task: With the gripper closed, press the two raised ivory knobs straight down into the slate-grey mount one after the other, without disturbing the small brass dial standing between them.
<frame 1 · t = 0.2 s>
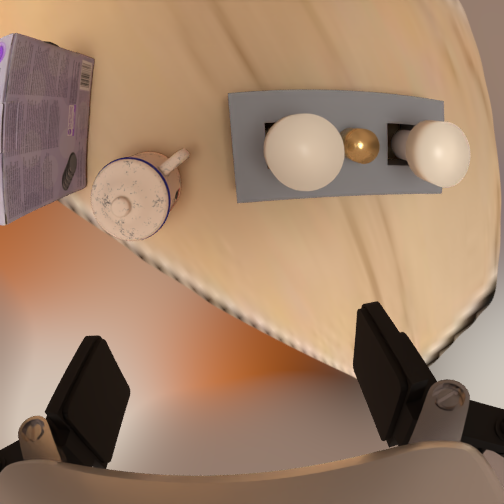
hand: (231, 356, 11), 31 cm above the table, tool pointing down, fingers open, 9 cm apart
brass dial: (351, 143, 32), point 6 cm above the table, touching mount
teacup with lid: (158, 176, 38), on the table
ivory knob 1: (423, 149, 28), point 10 cm above the table, slide at 0.0 cm
mount: (335, 139, 37), on the table
cake pan box: (75, 119, 34), on the table
ivory knob 2: (296, 147, 28), point 10 cm above the table, slide at 0.0 cm
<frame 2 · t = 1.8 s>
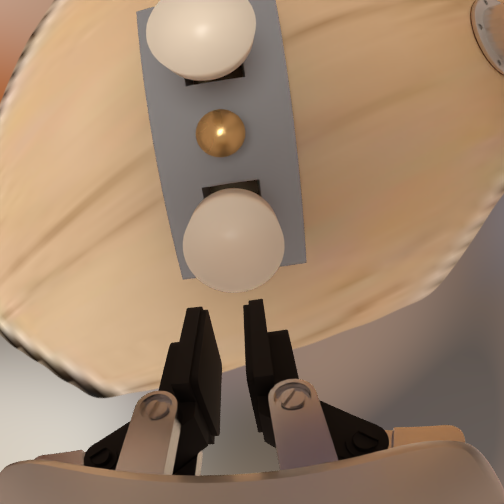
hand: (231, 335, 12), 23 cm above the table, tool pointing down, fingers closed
brass dial: (222, 131, 25), point 6 cm above the table, touching mount
ivory knob 1: (234, 225, 24), point 10 cm above the table, slide at 0.0 cm
mount: (225, 130, 30), on the table
ivory knob 2: (206, 42, 18), point 10 cm above the table, slide at 0.0 cm
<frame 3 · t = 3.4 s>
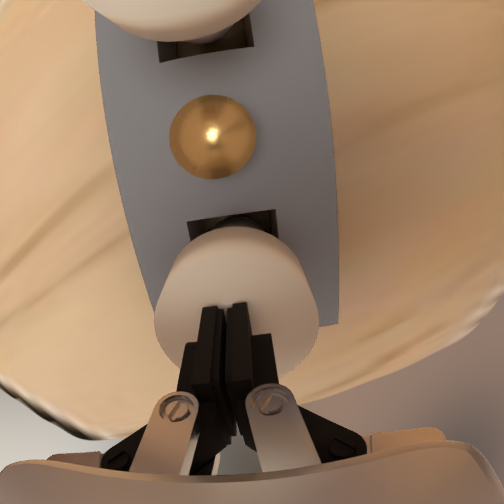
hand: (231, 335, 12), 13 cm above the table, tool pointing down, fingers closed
brass dial: (217, 133, 15), point 6 cm above the table, touching mount
ivory knob 1: (236, 276, 16), point 9 cm above the table, slide at 1.5 cm, touching gripper
mount: (223, 130, 21), on the table
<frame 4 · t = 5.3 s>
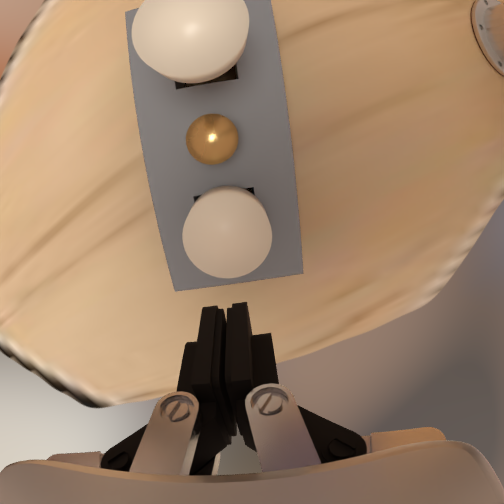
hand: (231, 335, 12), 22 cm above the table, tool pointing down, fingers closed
brass dial: (214, 137, 23), point 6 cm above the table, touching mount
ivory knob 1: (227, 219, 26), point 6 cm above the table, slide at 4.2 cm
mount: (218, 135, 29), on the table
ivory knob 2: (197, 42, 17), point 10 cm above the table, slide at 0.0 cm
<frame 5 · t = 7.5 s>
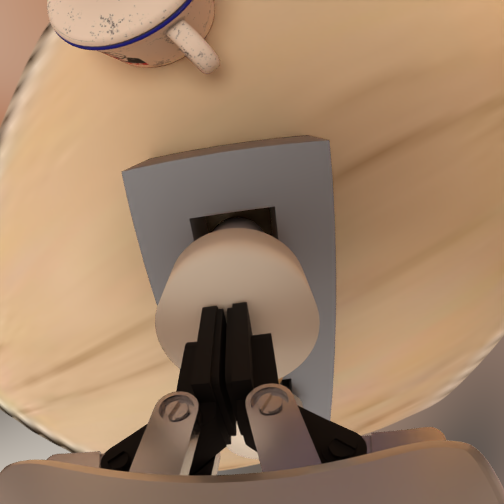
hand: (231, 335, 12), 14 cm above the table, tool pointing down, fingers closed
teacup with lid: (170, 29, 18), on the table
ivory knob 1: (263, 399, 25), point 6 cm above the table, slide at 4.2 cm
mount: (250, 297, 27), on the table
ivory knob 2: (237, 278, 16), point 9 cm above the table, slide at 0.7 cm, touching gripper
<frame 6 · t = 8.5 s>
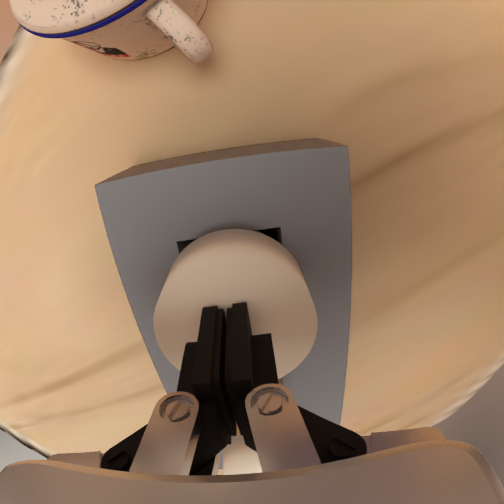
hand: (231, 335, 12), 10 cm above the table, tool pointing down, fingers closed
teacup with lid: (157, 16, 15), on the table
ivory knob 1: (264, 432, 21), point 6 cm above the table, slide at 4.2 cm
mount: (250, 321, 24), on the table
ivory knob 2: (235, 278, 16), point 6 cm above the table, slide at 4.2 cm, touching gripper
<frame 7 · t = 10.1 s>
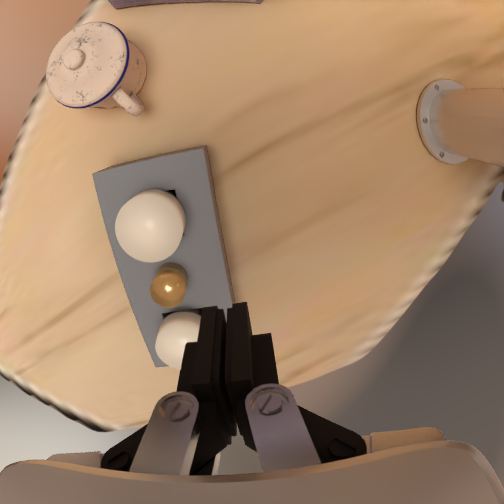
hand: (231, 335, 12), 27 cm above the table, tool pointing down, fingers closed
brass dial: (171, 277, 34), point 6 cm above the table, touching mount
teacup with lid: (121, 82, 31), on the table
ivory knob 1: (186, 326, 37), point 6 cm above the table, slide at 4.2 cm
mount: (178, 255, 39), on the table
ivory knob 2: (157, 216, 31), point 6 cm above the table, slide at 4.2 cm
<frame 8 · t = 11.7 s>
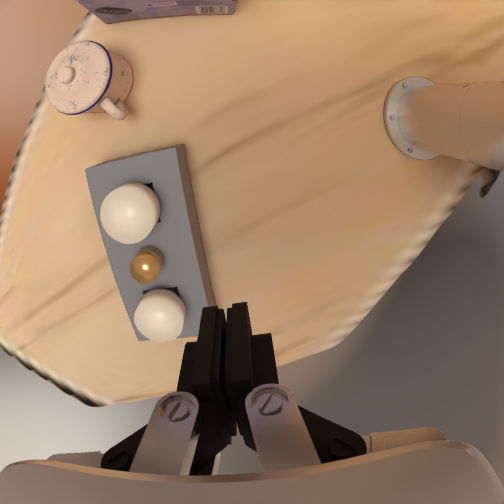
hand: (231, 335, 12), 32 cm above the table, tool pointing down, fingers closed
brass dial: (150, 258, 39), point 6 cm above the table, touching mount
teacup with lid: (111, 89, 35), on the table
ivory knob 1: (164, 303, 42), point 6 cm above the table, slide at 4.2 cm
mount: (160, 241, 44), on the table
cake pan box: (172, 3, 31), on the table
ivory knob 2: (137, 205, 36), point 6 cm above the table, slide at 4.2 cm
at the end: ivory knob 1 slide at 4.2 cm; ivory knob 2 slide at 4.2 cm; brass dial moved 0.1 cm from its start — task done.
